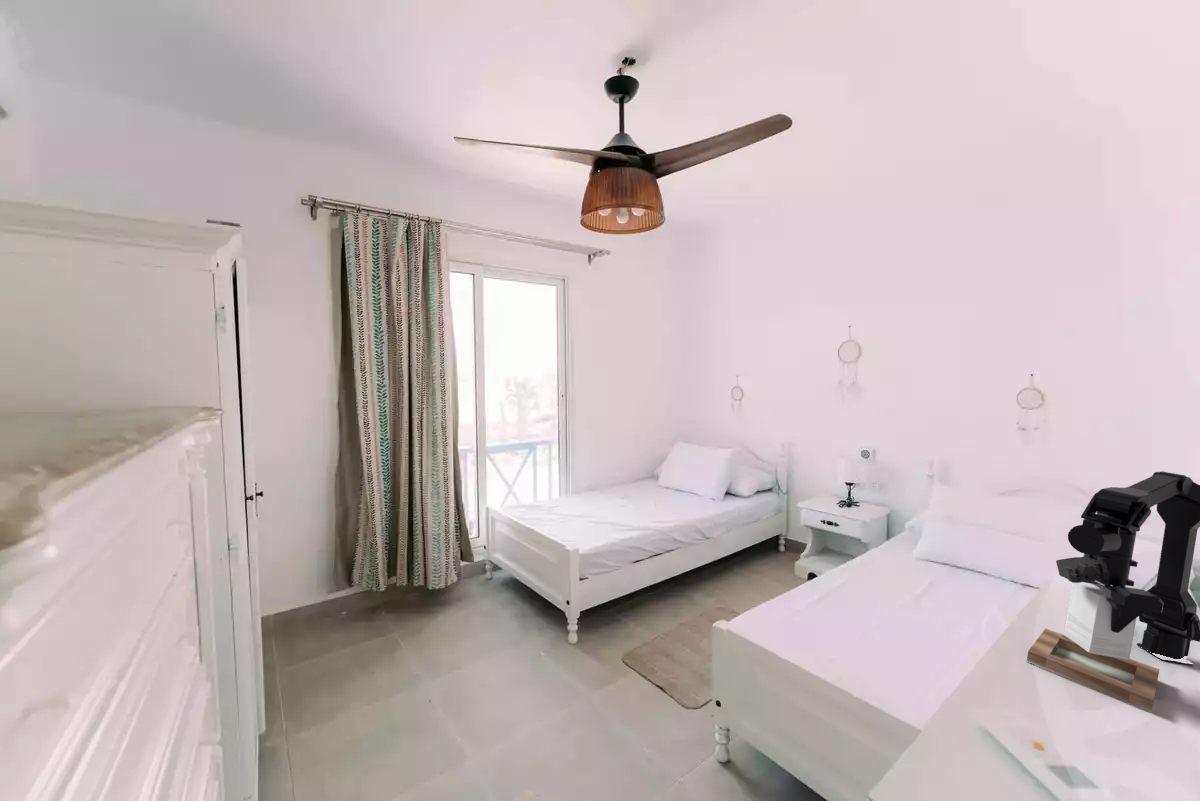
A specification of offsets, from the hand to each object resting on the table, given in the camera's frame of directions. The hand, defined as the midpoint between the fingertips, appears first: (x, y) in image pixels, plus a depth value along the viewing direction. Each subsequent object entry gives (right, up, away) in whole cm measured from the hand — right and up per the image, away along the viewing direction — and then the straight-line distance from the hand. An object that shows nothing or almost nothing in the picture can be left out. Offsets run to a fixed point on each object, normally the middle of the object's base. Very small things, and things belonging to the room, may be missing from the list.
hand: (1099, 622), depth 103 cm
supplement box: (-1, -6, 0) cm, 6 cm away
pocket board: (-1, -11, +1) cm, 11 cm away
